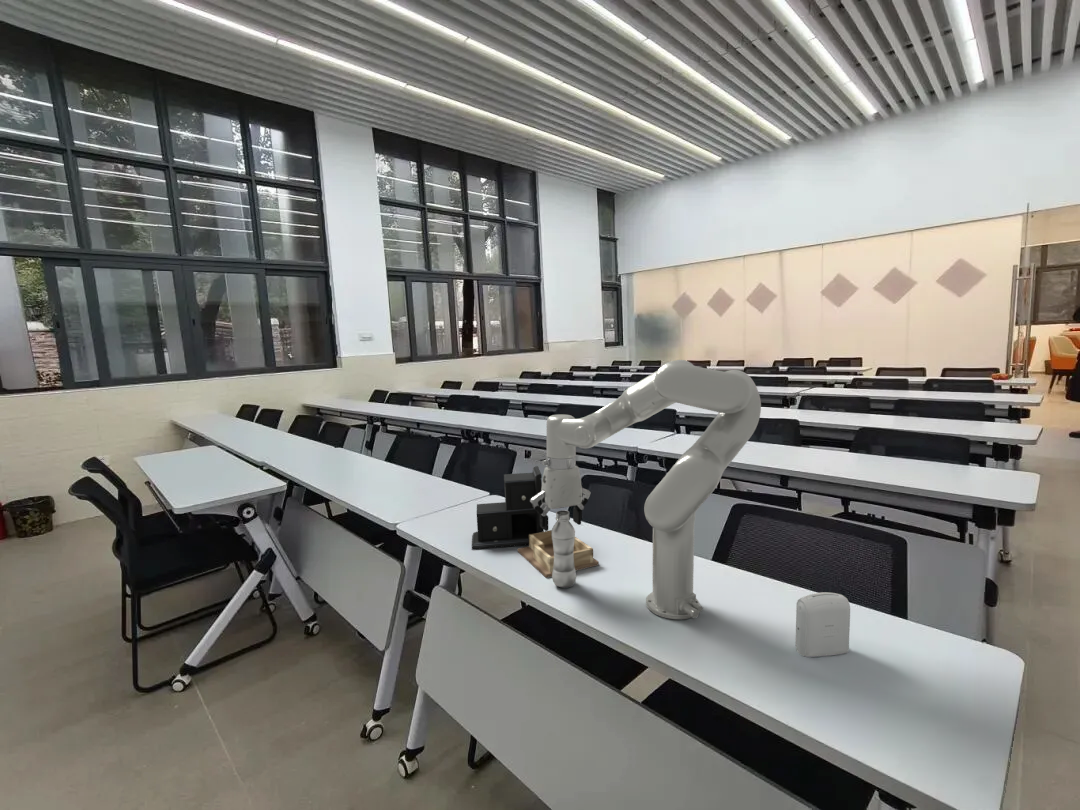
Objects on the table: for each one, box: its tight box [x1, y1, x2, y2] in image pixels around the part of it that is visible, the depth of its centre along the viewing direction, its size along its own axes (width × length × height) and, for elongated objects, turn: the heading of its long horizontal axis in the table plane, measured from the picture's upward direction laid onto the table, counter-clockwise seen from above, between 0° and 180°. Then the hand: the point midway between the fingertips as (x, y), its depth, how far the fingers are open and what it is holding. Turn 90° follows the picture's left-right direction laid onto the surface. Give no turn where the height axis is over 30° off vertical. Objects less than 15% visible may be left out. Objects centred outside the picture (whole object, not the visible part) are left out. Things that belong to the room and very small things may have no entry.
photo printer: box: [794, 591, 851, 658], centre depth 102 cm, size 10×4×12 cm, turn 96°
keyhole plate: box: [517, 529, 600, 579], centre depth 151 cm, size 20×17×5 cm
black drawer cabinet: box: [471, 465, 545, 550], centre depth 164 cm, size 23×11×24 cm, turn 96°
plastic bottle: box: [551, 509, 577, 589], centre depth 133 cm, size 6×7×20 cm
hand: (561, 526), depth 132 cm, fingers open, 9 cm apart
